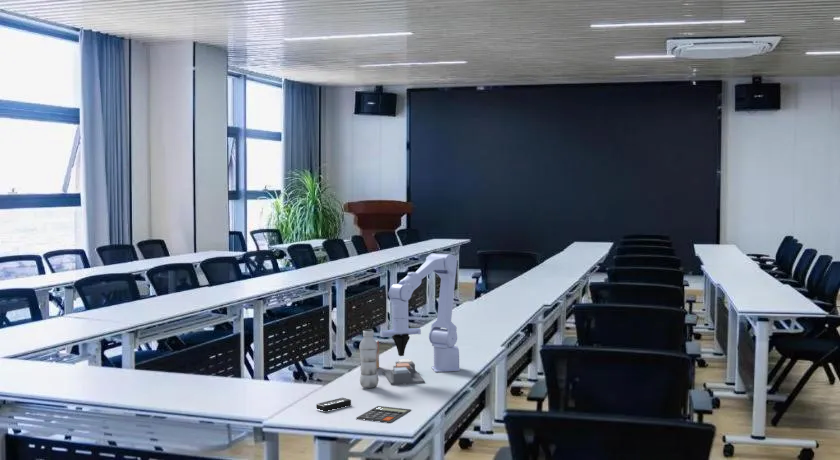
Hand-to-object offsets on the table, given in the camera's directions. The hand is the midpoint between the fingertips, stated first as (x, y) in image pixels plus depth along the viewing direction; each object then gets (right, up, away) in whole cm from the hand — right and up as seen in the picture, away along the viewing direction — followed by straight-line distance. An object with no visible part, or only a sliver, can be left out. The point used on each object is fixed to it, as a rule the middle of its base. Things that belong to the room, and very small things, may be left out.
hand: (401, 355), depth 299 cm
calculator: (-4, -12, -42) cm, 44 cm away
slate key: (0, -7, -1) cm, 7 cm away
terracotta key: (+1, -7, +6) cm, 9 cm away
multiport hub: (-21, -12, -33) cm, 41 cm away
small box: (-12, -9, +21) cm, 26 cm away
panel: (+1, -9, +7) cm, 11 cm away
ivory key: (+1, -6, +14) cm, 15 cm away
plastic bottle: (-11, -10, -8) cm, 17 cm away
